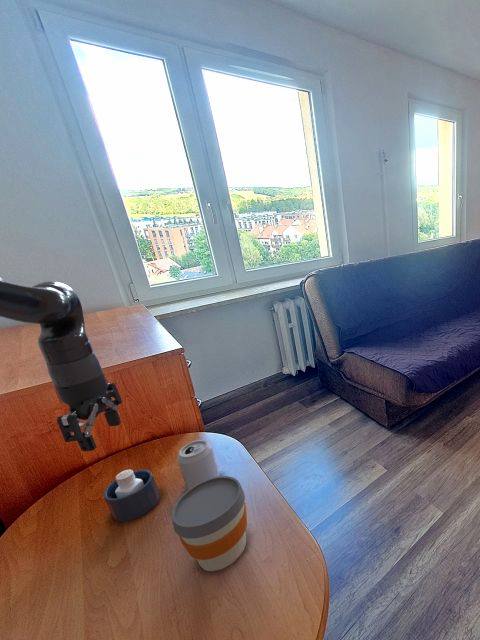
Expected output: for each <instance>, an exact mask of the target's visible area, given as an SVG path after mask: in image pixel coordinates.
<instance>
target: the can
mask: <svg viewBox="0 0 480 640" xmlns="http://www.w3.org/2000/svg"><path fill="white" fill-rule="evenodd" d="M176 459H177V462H178V465H179V468H180V471H181V474H182V477H183V480H184V483H185V487H186V489H187V491H188V490H189V489H190V488H192V487H193V486H195V485H196V484H198V483H200V482H202V481H204V480H207V479H210V478H213V477H218V476H220V471H219V468H218V463H217V461H216V457H215V452H214V450H213V447H212V445H211V443H208V441H207V440H205V439H197V440H193V441H190V442H188V443H187V444H185V445H184V446H182V447H181V448H180V449H179V451H178V455H177V458H176Z"/></svg>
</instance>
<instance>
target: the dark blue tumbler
mask: <svg viewBox="0 0 480 640" xmlns="http://www.w3.org/2000/svg"><path fill="white" fill-rule="evenodd" d="M133 473H134V475H135V478H138V479H141V480H143V483H144V486H143V487H142V488H140V489H139V490H137V491H136V492H134V493H132V494H130V495H128V496H125V497H121V498H117V496H116V493H115V491H116V489H117V488H118V487H119V485H118V483H117V481H116V479H115V480H113V481H112V482H111V483H110V484H109V485H107V486H106V488H105V490H104V492H103V498H104V501H105V503H106V505H107V507H108V510H109V511H110V513H111V516H112V518H113V519H114V520H115V521H116V522H121V523H122V522H124V523H125V522H129V521H133V520H136V519H138V518H140V517H143V516H144V515H146V514H147V513H149V512H150V511H151V510H153V508H154V507H155V506H156V505H158V502H159V500H160V498H161V494H160V491H159V489H158V486H157V482H156V480H155V478H154V476H153V472H152V471H150V470H148V469H137V470H134V471H133Z"/></svg>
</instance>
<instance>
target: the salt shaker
mask: <svg viewBox="0 0 480 640" xmlns="http://www.w3.org/2000/svg"><path fill="white" fill-rule="evenodd" d="M115 480H116V481H117V483H118V485H119V487H118V488H117V489H116V491H115V493H116V496H117V498H121V497H125V496H128V495H130V494H132V493H134V492H136V491H137V490H139V489H140V488H142V487H143V486H144V483H143V480H141V479H138V478H135V475H134V473H133V469H125V470H122V471H121V472H119V473H118V474H117V475H116V476H115Z"/></svg>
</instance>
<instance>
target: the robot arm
mask: <svg viewBox="0 0 480 640" xmlns="http://www.w3.org/2000/svg"><path fill="white" fill-rule="evenodd" d="M0 318H3V319H8V320H11V321H15V322H19V323H25V324H31V325H32V324H33V325H34V324H35V325H39V328H40V333H39V336H38V338H37V345H38V348H39V351H40V353H41V355H42V357H43V359H44V362H45V365H46V368H47V372H48V375H49V377H50V380H51V382H52V384H53V387H54V389H55V391H56V393H57V395H58V398H59V400H60V402H62V403H64V404H66V405H68V409H69V412H68V413H66V414H65V415H59V416H58V417H56V422H57V424H58V427H59V430H60V433H61V436H62V437H63V440H64V442H65V443H70V442H77V445H78V446H79V448H80V450H81V451H82V452H93V451H95V450H96V449H97V448H98V447H97V444H96V442H95V440H94V437H93V435H92V434H91V432H92V427H93V426H94V425H95V422H96V418H97V417H98V416H99V415H100V414H102V413H103V415H104V417H105V420H106V422H107V425H108V426H109V427H117V426H120V424H121V423H122V421H121V417H120V415H119V412H118V410H119V405H121V404H122V403H123V400H122V397H121V395H120V393H119V390H118V388H117V385H116V383H115V382H107V379H106V377H105V374H104V371H103V368H102V366H101V363H100V360H99V358H98V357H97V356H96V354H95V352H94V349H93V347H92V344H91V341H90V338H89V336H88V334H87V332H86V327H85V326H86V325H85V317H84V311H83V305H82V302H81V299H80V297H79V295H78V294H77V292H76V291H75V290H74V289H73V288H72V287H71V286H69V285H68V284H66V283H63V282H61V281H53V280H52V281H51V280H49V281H43V282H40V283H37V284H35V285H33V286H25V285H20V284H15V283H10V282H7V281H6V280H5V279H4V278H3V277H1V276H0ZM112 398H114V399H112ZM80 420H81V421H84V422H80ZM82 427H84V428H83V431H82V429H81V428H82ZM71 433H72V434H71Z"/></svg>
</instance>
